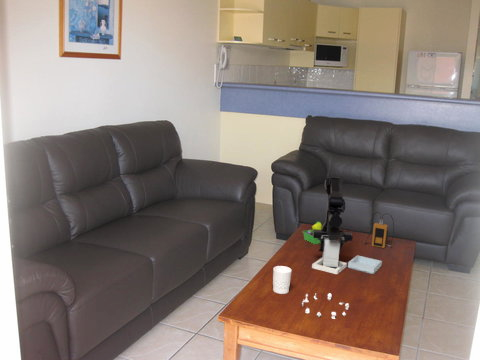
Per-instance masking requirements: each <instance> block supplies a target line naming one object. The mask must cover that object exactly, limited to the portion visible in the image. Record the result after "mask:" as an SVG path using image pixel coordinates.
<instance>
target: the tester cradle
mask: <svg viewBox="0 0 480 360" xmlns="http://www.w3.org/2000/svg"><path fill="white" fill-rule="evenodd" d="M311 268H312V269H314V270H319V271H323V272H326V273H330V274H334V275H339V273H341V272H342V271H343V270H344V269H346V268H348V262H344V261H341V260H338V267H328V266H323V262H322V257H320V258H319V259H318V260H316V261H315V262H313V263H312V264H311Z"/></svg>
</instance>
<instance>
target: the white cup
mask: <svg viewBox="0 0 480 360" xmlns="http://www.w3.org/2000/svg"><path fill="white" fill-rule="evenodd" d="M272 271H273V272H272V287H273V288H272V290H273V292H274V293H276V294H280V295H284V294H288V293H289V289H290V284H291V277H292V272H293V270H292V269H291V268H290V267H288V266H284V265H277V266H273V270H272Z"/></svg>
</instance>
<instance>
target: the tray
mask: <svg viewBox="0 0 480 360" xmlns="http://www.w3.org/2000/svg"><path fill="white" fill-rule="evenodd" d="M382 264H383V260H379V259H375V258H371V257H367V256H361V255H359V254H357V255H356V256H354V257H353V258H351V260H349V261H348V262H347V268H348V269H351V270H354V271H360V272H362V273H367V274H371V275H374V274H376V272H378V270H379V269H380V268H382V266H383V265H382Z"/></svg>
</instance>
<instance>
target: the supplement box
mask: <svg viewBox="0 0 480 360" xmlns="http://www.w3.org/2000/svg"><path fill="white" fill-rule="evenodd" d="M339 249H340V239H339V240H338V241H336V240H329V238H325V237H324V251H322V257H321V258H322V262H323V263H322V266H326V267H330V268H337V267H338V261H339V257H340V256H339V255H340V252H339Z"/></svg>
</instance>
